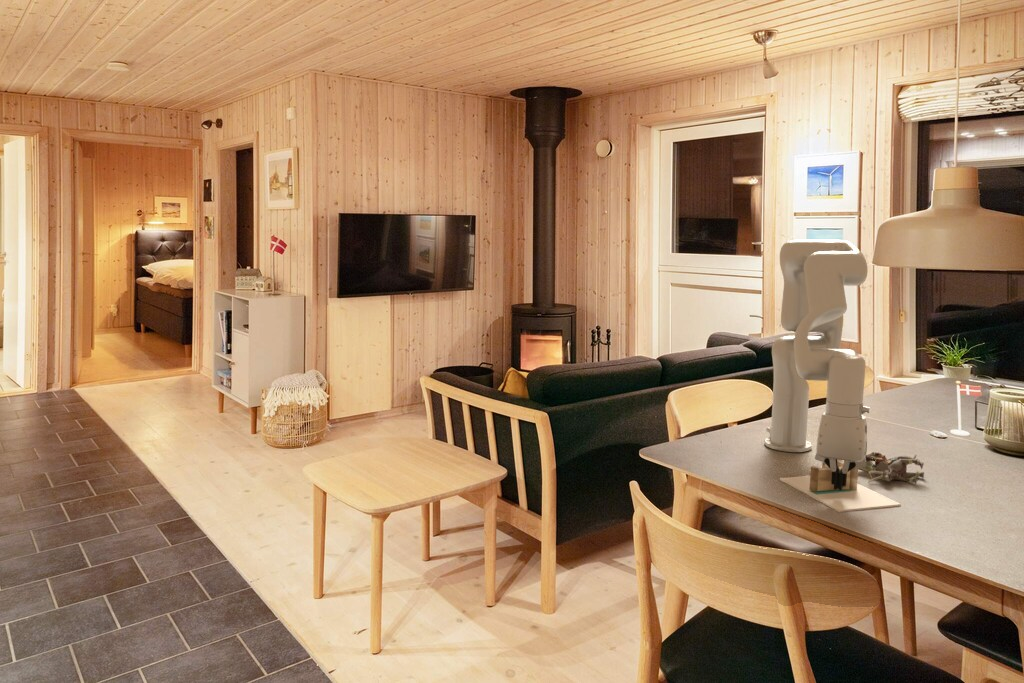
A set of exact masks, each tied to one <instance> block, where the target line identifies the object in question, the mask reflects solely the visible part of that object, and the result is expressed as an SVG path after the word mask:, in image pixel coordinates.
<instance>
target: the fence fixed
mask: <svg viewBox="0 0 1024 683" xmlns="http://www.w3.org/2000/svg"><path fill="white" fill-rule="evenodd" d="M837 462H838V467H843V463H844V460H838V459H837ZM821 463H822V464H821V468H829V467H828V466H827V465H826V464H825V463H824V462H821ZM858 480H859V470H858V467H854V468H853V469H852V470H850V484H849V490H852V491H856V490H857V483H858Z"/></svg>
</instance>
